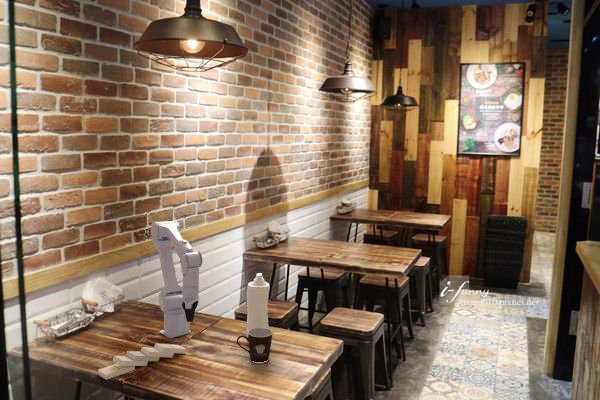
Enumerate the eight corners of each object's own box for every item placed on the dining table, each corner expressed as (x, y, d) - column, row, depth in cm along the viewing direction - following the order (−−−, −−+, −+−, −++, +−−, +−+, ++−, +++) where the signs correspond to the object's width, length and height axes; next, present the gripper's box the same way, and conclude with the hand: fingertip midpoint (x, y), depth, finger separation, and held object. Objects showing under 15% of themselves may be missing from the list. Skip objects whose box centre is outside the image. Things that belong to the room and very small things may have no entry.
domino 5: (178, 344, 185) (155, 343, 178) (186, 349, 182) (163, 347, 175) (177, 349, 185) (153, 347, 178) (185, 353, 182) (162, 352, 175)
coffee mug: (275, 357, 182) (276, 330, 181) (266, 367, 174) (267, 338, 173) (245, 351, 186) (246, 324, 185) (234, 360, 178) (235, 333, 177)
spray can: (236, 337, 198) (238, 274, 195) (255, 330, 207) (257, 269, 204) (259, 345, 191) (261, 280, 188) (277, 337, 200) (279, 275, 197)
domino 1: (126, 360, 171) (98, 369, 164) (134, 365, 168) (106, 374, 160) (126, 365, 171) (98, 374, 164) (134, 370, 168) (105, 379, 160)
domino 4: (165, 348, 182) (141, 346, 174) (173, 352, 178) (149, 351, 171) (164, 353, 182) (140, 351, 174) (172, 357, 178) (148, 356, 171)
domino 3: (151, 352, 178) (127, 351, 170) (160, 356, 175) (135, 355, 167) (149, 356, 178) (125, 355, 170) (158, 361, 175) (134, 360, 167)
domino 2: (139, 356, 174) (114, 355, 166) (148, 361, 171) (123, 360, 163) (137, 361, 174) (112, 360, 166) (146, 365, 171) (121, 365, 163)
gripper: (181, 279, 192) (181, 314, 193) (176, 290, 177) (176, 328, 179) (200, 279, 193) (200, 314, 194) (197, 291, 178) (196, 328, 180)
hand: (189, 321), depth 187 cm, fingers closed
